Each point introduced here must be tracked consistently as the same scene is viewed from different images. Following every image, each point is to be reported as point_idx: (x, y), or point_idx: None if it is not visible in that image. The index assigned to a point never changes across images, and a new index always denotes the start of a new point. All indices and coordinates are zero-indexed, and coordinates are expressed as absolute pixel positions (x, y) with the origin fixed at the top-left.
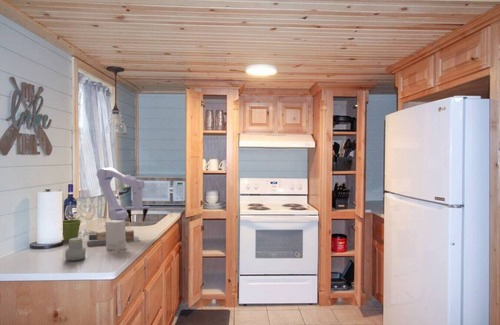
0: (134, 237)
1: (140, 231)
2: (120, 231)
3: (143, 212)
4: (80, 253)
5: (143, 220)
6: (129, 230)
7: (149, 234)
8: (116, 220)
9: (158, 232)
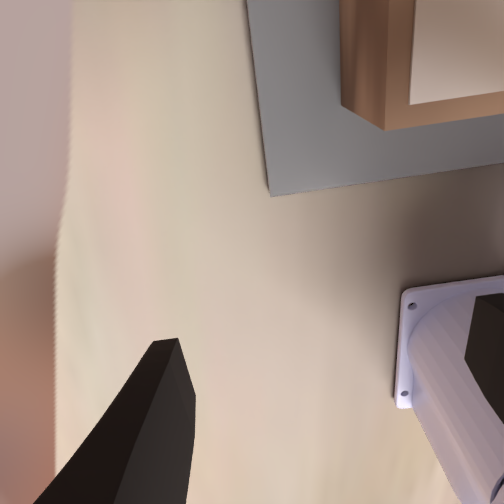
0: (315, 160)
1: (244, 444)
2: None
3: None
4: None
5: (165, 351)
6: (462, 86)
7: (143, 331)
8: None
9: (60, 396)
